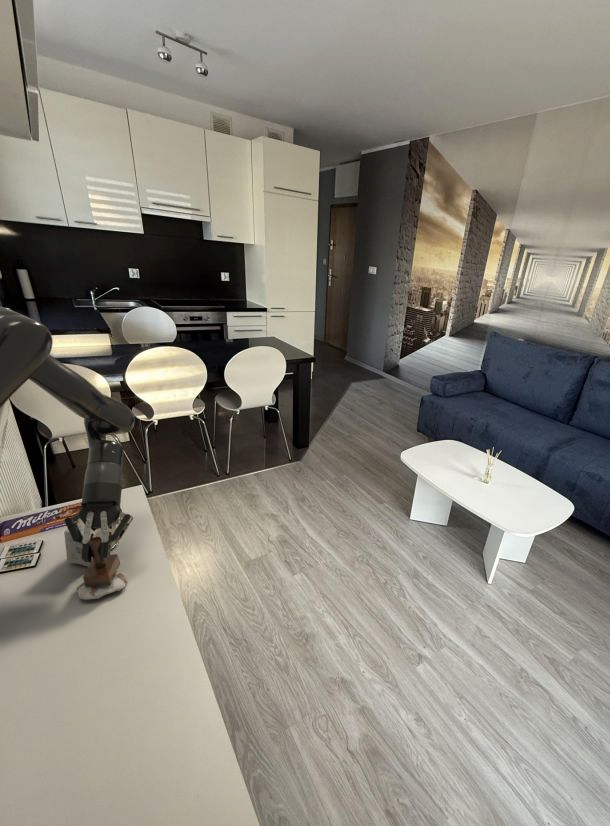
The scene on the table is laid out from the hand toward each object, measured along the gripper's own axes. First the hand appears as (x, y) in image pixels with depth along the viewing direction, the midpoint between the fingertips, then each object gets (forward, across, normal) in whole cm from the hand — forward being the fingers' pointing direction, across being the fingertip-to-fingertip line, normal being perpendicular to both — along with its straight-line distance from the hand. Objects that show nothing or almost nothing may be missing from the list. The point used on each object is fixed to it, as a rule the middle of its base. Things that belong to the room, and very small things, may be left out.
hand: (95, 560), depth 87 cm
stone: (+6, 0, +7) cm, 9 cm away
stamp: (+3, 0, +6) cm, 6 cm away
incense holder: (-3, -5, +16) cm, 17 cm away
